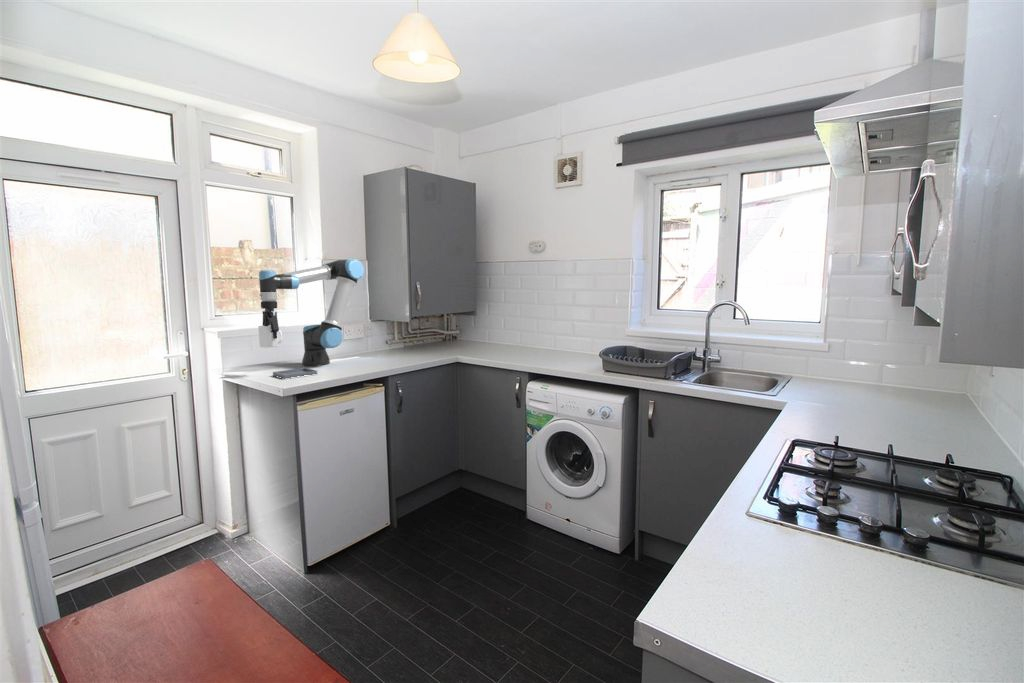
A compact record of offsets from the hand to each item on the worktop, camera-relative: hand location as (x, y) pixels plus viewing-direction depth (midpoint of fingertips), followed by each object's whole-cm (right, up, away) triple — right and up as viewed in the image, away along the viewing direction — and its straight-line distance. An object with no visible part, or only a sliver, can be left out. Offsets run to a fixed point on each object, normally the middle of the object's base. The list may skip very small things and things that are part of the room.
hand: (271, 344), depth 247 cm
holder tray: (+12, -16, 0) cm, 20 cm away
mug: (+1, -1, 0) cm, 2 cm away
